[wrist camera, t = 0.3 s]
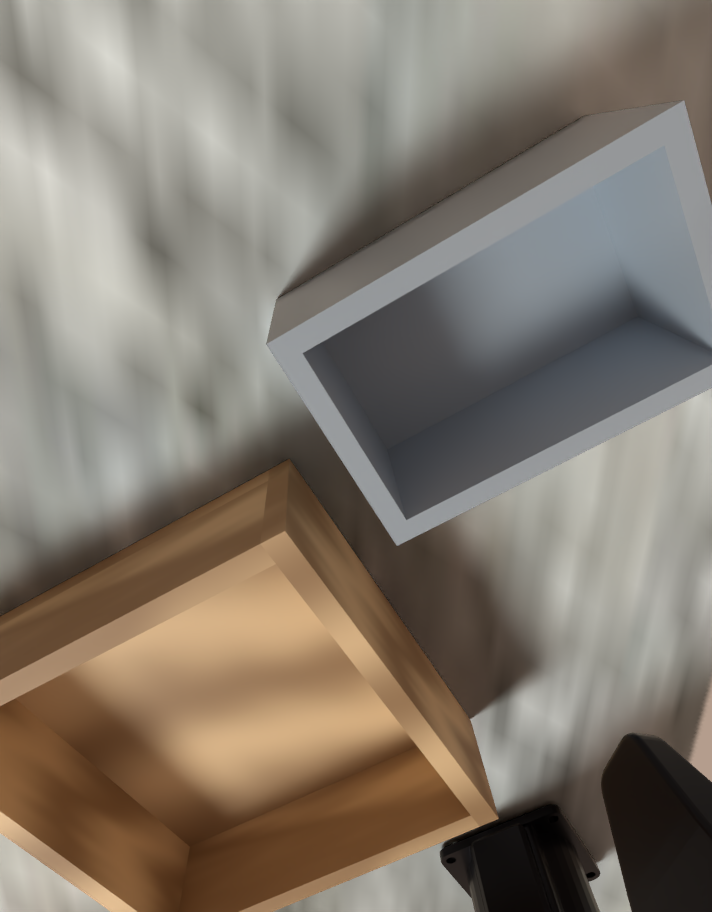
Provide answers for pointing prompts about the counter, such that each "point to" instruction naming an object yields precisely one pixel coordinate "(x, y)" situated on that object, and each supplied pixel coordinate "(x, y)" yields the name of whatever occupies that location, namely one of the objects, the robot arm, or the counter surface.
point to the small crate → (512, 319)
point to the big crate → (228, 717)
